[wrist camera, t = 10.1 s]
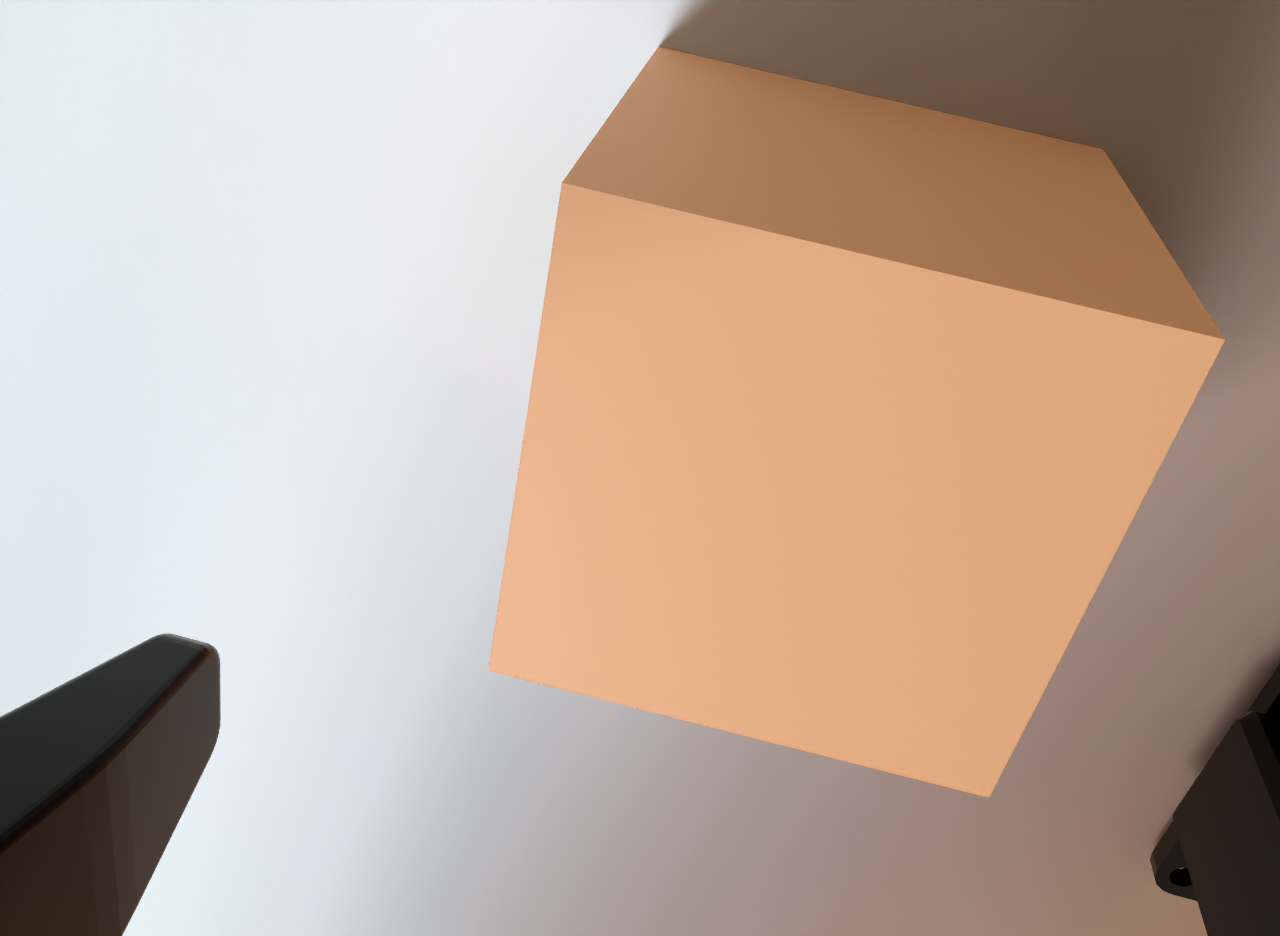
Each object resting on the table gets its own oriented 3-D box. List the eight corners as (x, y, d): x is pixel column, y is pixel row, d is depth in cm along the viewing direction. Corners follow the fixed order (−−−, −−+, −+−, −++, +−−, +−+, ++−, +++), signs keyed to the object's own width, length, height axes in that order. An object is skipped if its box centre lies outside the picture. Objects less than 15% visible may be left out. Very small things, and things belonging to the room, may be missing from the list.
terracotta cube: (1102, 147, 15) (1224, 340, 10) (952, 513, 18) (989, 797, 13) (659, 45, 15) (561, 183, 10) (588, 424, 19) (488, 670, 14)
